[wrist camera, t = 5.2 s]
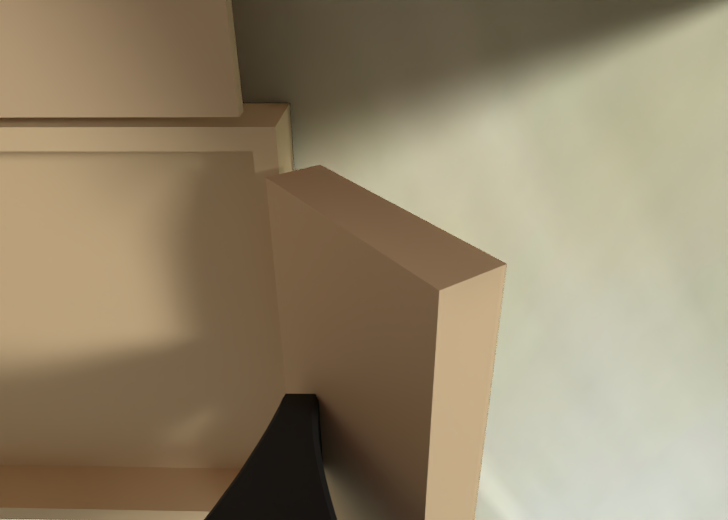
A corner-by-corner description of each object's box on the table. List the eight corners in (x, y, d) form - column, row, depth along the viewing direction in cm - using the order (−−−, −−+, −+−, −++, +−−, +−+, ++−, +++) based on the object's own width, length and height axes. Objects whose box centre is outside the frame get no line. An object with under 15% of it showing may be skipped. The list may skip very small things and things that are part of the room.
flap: (337, 516, 16) (454, 677, 13) (300, 537, 16) (412, 712, 12) (320, 164, 11) (506, 263, 8) (265, 177, 11) (439, 290, 7)
